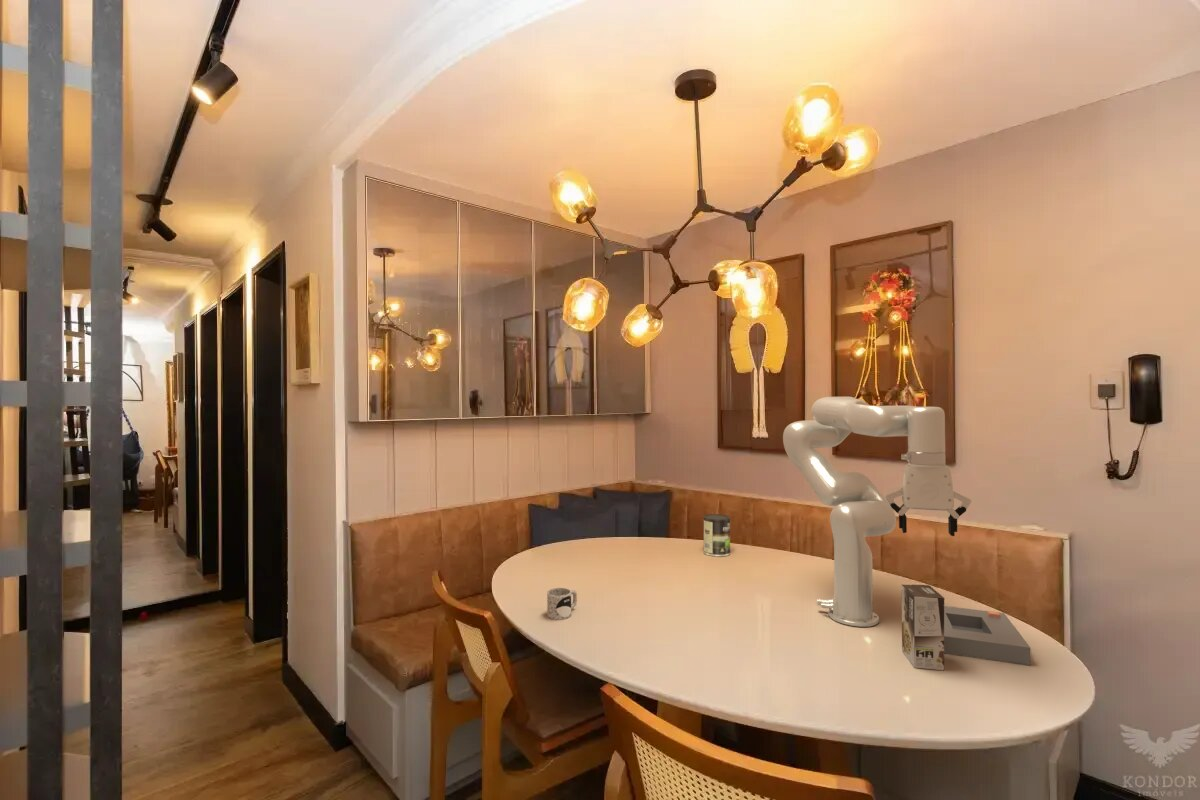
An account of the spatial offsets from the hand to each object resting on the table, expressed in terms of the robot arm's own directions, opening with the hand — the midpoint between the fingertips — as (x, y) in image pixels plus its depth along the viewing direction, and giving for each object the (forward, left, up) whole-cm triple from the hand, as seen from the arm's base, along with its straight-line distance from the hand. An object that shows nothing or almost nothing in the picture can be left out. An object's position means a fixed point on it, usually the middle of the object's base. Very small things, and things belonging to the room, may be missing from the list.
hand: (927, 533), depth 133 cm
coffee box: (-1, -3, -29) cm, 29 cm away
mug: (-90, -8, -29) cm, 95 cm away
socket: (+11, +14, -29) cm, 34 cm away
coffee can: (-62, +69, -29) cm, 98 cm away
